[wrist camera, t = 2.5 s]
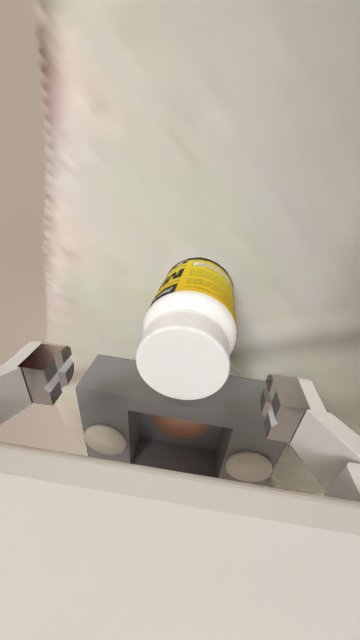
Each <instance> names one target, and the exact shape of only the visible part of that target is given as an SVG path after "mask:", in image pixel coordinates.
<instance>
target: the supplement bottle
mask: <svg viewBox="0 0 360 640" xmlns="http://www.w3.org/2000/svg"><path fill="white" fill-rule="evenodd" d="M236 338H237V326H236V317H235V307H234V294H233V284H232V280H231V277H230V275H229V273H228V271H227V270H226V269H225V268H224V267H223V266H222V265H221V264H220V263H219V262H217V261H215V260H213V259H211V258H208V257H203V256H193V257H188V258H185V259H183V260H181V261H179V262H178V263H177V264H175V265H174V266H173V267H172V268H171V270H170V271H169V273H168V274H167V276H166V278H165V280H164V282H163V284H162V285H161V287H160V289H159V291H158V293H157V294H156V296H155V298H154V300H153V302H152V304H151V305H150V307H149V309H148V311H147V313H146V315H145V318H144V322H143V335H142V338H141V341H140V344H139V346H138V349H137V353H136V365H137V369H138V371H139V373H140V375H141V377H142V378H143V380H144V381H145V382H146V383H147V384H148V385H149V386H150V387H151V388H153V389H154V390H155V391H157V392H159V393H161V394H163V395H165V396H168V397H171V398H175V399H181V400H196V399H201V398H205V397H208V396H210V395H212V394H214V393H215V392H217V391H218V390H219V389H220V388H221V387H222V386H223V385H224V383H225V382H226V380H227V378H228V376H229V371H230V354H231V352H232V351H233V348H234V346H235V343H236Z"/></svg>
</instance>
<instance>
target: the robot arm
mask: <svg viewBox="0 0 360 640" xmlns="http://www.w3.org/2000/svg"><path fill="white" fill-rule="evenodd" d="M71 354H72V353H71V349H70V347H68V346H65V345H59V344H53V343H47V342H39V341H31V342H29V343H28V344H27V345H26V346H25V347H23V348H22V349H21V350H20V351H19V352H18V353H16V354H15V355H14V356H13V357H12V358H11V359H10V360H9V361H8V362H6V363H5V364H4V365H0V424H1V423H3V422H5V421H6V420H8V419H9V418H11V417H12V416H14V415H16V414H17V413H19V412H20V411H22V410H23V409H25V408H26V407H28V406H29V405H31V403H38V404H45V405H54V403H55V402H56V400H57V399H58V398H59V396H60V395H61V393H62V390H61V388H62V387H64V386H66V385H68V383H69V382H70V380H71V379H72V376H73V373H74V364H73V362H72V361H71V360H70V358H69V357H70V356H71ZM266 385H267V387H266V388H264V389H263V391H262V394H261V400H260V406H261V413H262V414H263V415H264V416H265V421H264V427H265V432H266V437H267V439H272V440H277V441H283V442H288V443H290V445H291V446H292V447H293V449H294V450H295V451H296V452H297V454H298V455H299V456H300V458H301V459H302V460H303V462H304V463H305V464H306V465H307V467H308V468H309V469H310V471H311V472H312V473H313V474H314V476H315V477H316V478H317V480H318V481H319V482H320V483H321V485H322V486H323V487H324V489H325V490H326V491H327V492H326V494H325V495H324V496H323V495H317V494H311V493H305V492H299V491H293V490H287V489H281V488H275V487H269V486H263V485H257V484H251V483H245V482H239V481H233V480H227V479H221V478H215V477H209V476H203V475H197V474H190V473H184V472H178V471H172V470H166V469H160V468H154V467H148V466H142V465H136V464H130V463H125V462H119V461H113V460H107V459H101V458H95V457H89V456H83V455H76V454H71V453H65V452H59V451H53V450H46V449H41V448H35V447H29V446H23V445H17V444H10V443H5V442H0V640H360V436H359V435H357V434H356V433H355V432H354V431H352V430H351V429H350V428H349V427H348V426H346V425H345V424H344V423H343V422H341V421H340V420H339V419H338V418H337V417H335V416H334V415H333V414H332V413H328V412H326V410H325V407H324V405H323V403H322V401H321V399H320V397H319V395H318V393H317V391H316V389H315V387H314V385H313V383H312V381H311V380H310V379H307V378H299V377H288V376H281V375H273V374H269V375H268V377H267V379H266Z"/></svg>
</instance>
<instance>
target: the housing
mask: <svg viewBox="0 0 360 640" xmlns="http://www.w3.org/2000/svg"><path fill="white" fill-rule="evenodd" d="M266 387H267V385H266V381H260V380H253V379H247V378H241V377H235V376H228V378H227V380H226V382H225V383H224V385H223V386H222V387H221V388H220V389H219V390H218V391H217V392H215V393H214V394H212V395H210V396H208V397H205V398H201V399H196V400H181V399H175V398H171V397H168V396H165V395H163V394H161V393H159V392H157V391H155V390H154V389H153V388H151V387H150V386H149V385H148V384H147V383H146V382H145V381H144V380H143V378H142V377H141V375H140V373H139V371H138V369H137V365H136V361H135V360H129V359H122V358H116V357H110V356H104V355H98V356H97V357H96V359H95V360H94V361H93V363H92V364H91V366H90V367H89V369H88V370H87V372H86V373H85V375H84V376H83V377H82V379H81V380H80V382H79V383H78V385H77V386H76V393H77V399H78V404H79V409H80V415H81V420H82V425H83V431H84V440H85V442H86V447H87V452H88V456H89V457H95V458H101V459H107V460H113V461H119V462H125V463H130V464H136V465H142V466H148V467H154V468H160V469H166V470H172V471H178V472H184V473H190V474H197V475H203V476H209V477H215V478H221V479H227V480H233V481H239V482H245V483H251V484H257V485H263V486H265V485H266V483H267V481H268V479H269V477H270V476H271V474H272V471H273V469H274V467H275V465H276V463H277V461H278V459H279V457H280V455H281V453H282V451H283V449H284V447H285V445H286V443H287V442H283V441H277V440H272V439H267V437H266V432H265V427H264V421H265V416H264V415H263V414H262V413H261V406H260V400H261V394H262V391H263V389H264V388H266Z"/></svg>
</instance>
